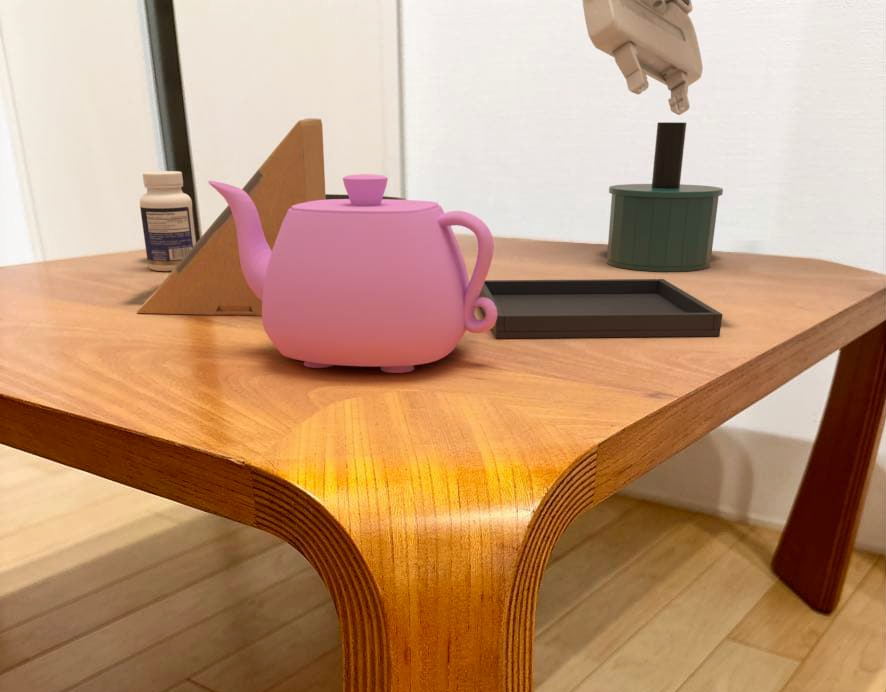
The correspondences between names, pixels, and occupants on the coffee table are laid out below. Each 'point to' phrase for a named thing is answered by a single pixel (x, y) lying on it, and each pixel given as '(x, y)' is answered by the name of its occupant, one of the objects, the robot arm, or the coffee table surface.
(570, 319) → the lid tray
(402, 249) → the teapot
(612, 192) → the tin lid
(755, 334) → the coffee table surface
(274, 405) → the coffee table surface
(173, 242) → the pill bottle
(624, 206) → the dark green cylinder
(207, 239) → the sandwich container
